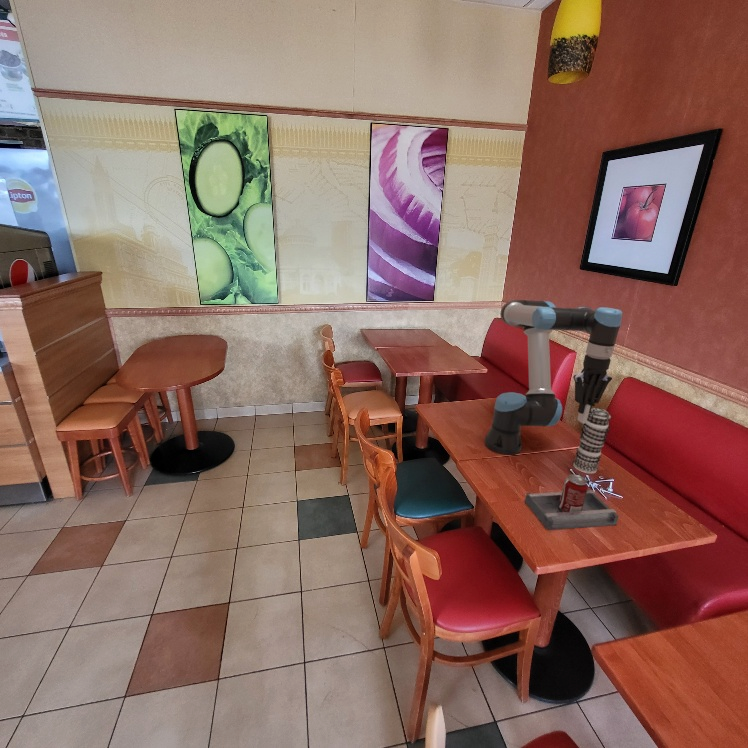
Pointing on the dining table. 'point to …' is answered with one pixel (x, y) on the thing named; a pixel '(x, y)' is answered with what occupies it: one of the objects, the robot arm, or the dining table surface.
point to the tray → (555, 518)
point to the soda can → (573, 494)
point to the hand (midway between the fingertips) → (581, 421)
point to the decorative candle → (592, 441)
